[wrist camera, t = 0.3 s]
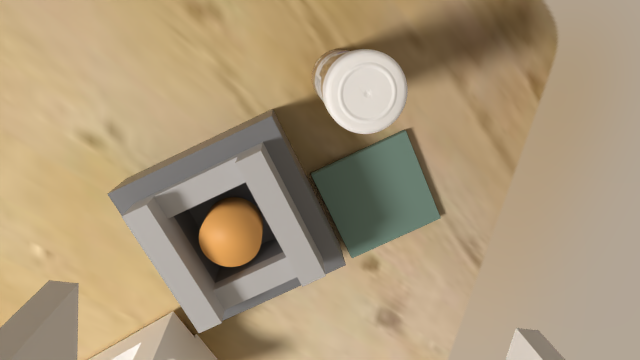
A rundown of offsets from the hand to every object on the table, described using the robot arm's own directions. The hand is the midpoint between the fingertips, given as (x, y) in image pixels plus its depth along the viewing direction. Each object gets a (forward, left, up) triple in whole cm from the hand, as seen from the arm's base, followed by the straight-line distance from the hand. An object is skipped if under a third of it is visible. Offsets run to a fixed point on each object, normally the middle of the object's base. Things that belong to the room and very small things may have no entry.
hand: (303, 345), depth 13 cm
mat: (+7, +5, -26) cm, 27 cm away
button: (+3, -7, -23) cm, 24 cm away
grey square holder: (+3, -7, -26) cm, 27 cm away
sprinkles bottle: (-4, +6, -26) cm, 27 cm away
